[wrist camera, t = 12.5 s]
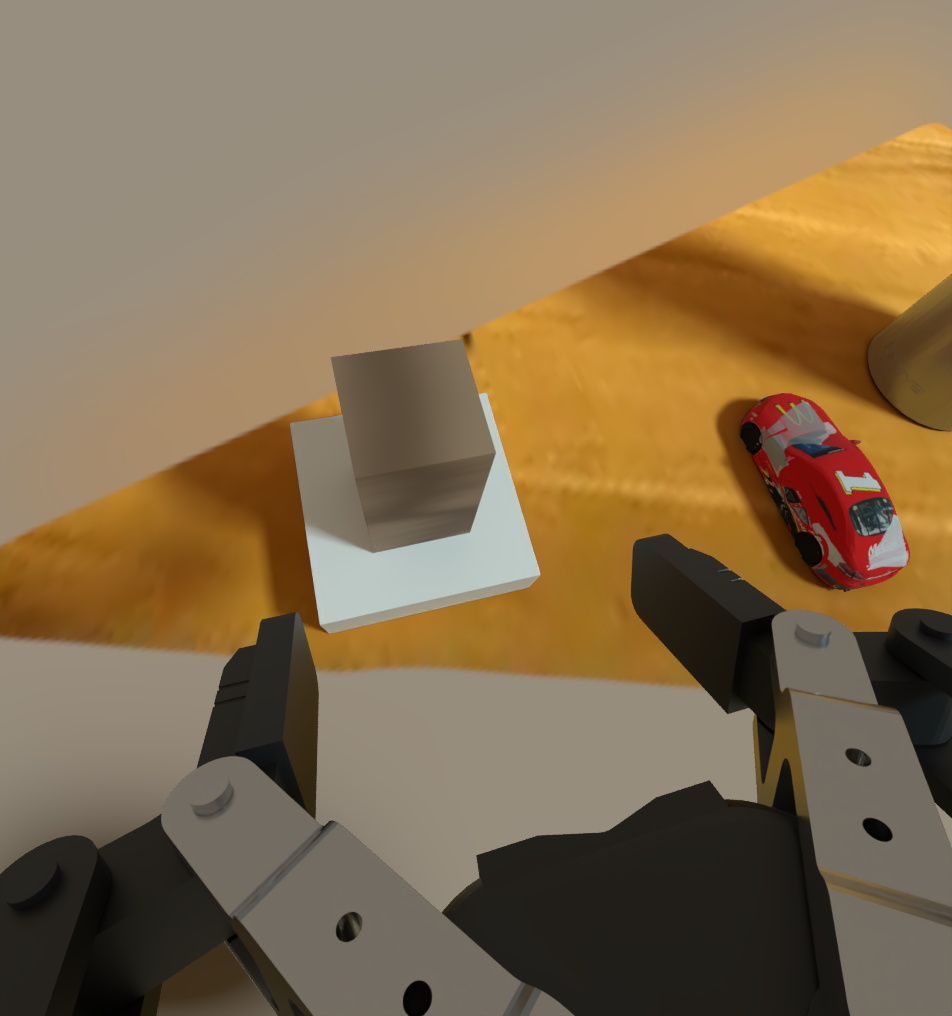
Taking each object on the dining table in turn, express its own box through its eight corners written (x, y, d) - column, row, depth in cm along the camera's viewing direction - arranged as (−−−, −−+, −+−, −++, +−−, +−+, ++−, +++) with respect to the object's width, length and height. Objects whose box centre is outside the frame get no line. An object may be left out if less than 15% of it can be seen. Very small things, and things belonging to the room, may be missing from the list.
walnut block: (447, 447, 29) (462, 339, 20) (470, 532, 27) (496, 452, 19) (355, 464, 28) (330, 357, 19) (373, 553, 26) (354, 478, 18)
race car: (723, 414, 36) (758, 379, 32) (790, 401, 37) (832, 366, 33) (813, 601, 31) (867, 585, 28) (886, 580, 32) (948, 563, 29)
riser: (479, 419, 33) (486, 392, 30) (528, 587, 29) (540, 574, 27) (300, 449, 31) (289, 422, 28) (329, 633, 27) (319, 625, 24)
